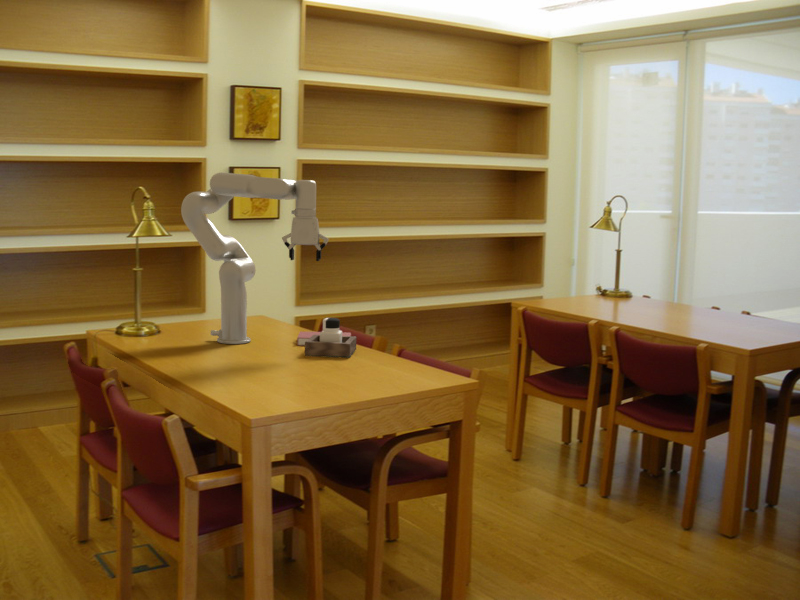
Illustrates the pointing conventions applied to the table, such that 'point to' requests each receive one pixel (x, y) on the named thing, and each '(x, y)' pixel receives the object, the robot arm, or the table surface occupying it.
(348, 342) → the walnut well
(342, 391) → the table surface
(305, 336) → the pink flat slab
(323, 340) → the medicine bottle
